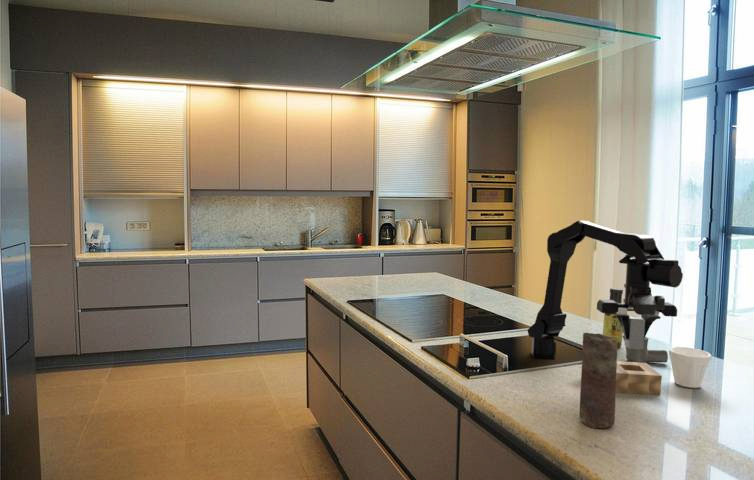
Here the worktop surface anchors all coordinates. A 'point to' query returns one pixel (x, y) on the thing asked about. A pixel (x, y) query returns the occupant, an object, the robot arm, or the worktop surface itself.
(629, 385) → the socket block
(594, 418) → the brown stone pillar
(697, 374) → the cup
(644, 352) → the pipe
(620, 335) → the sauce bottle
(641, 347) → the square bit
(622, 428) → the worktop surface
